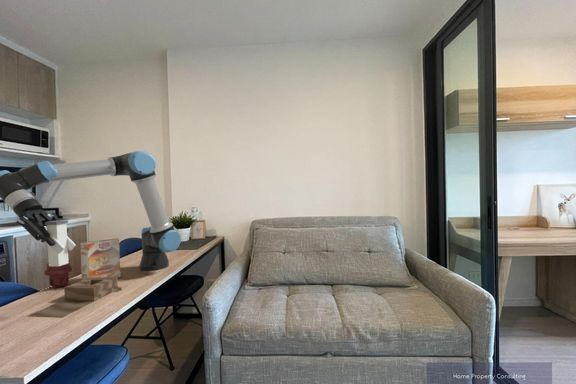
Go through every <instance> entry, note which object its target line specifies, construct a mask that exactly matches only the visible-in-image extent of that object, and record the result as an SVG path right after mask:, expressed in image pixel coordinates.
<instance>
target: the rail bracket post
mask: <svg viewBox="0 0 576 384" xmlns="http://www.w3.org/2000/svg"><path fill="white" fill-rule="evenodd" d="M68 223H69V220H64V219H63V220H61V219H59V220H56V221H50V222H45V225H47V227H46V230H47V231H48V233H49V235H50V236H51V235H53V236H54V237H55V238H56V239H57V240H58V241H59V242H60V243H61V244H62V245H63V246H64V247H65V249H64V250H63V251H62V252H61V253H60V254H58V253H57V252H56V250H55V249H54V248H53V247H52V246H49V245H48V244H47V255H48V263H49V266H62V265H65V264H68V263H69V262H68V260H69V249H68V243H67V235H68V232H67V228H68V225H67V224H68Z"/></svg>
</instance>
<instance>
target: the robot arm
mask: <svg viewBox="0 0 576 384" xmlns="http://www.w3.org/2000/svg"><path fill="white" fill-rule="evenodd" d="M156 167H157V163H156V159H155V157H154V156H153V155H152V154H151V153H149V152H147V151H145V150H136V151H133V152H128V153H125V154H124V153H123V154H120V155H115V156H109V157H107V159H99V160H97V159H96V160H88V161H78V162H67V163H55V164H52V163H51V162H50V161H48V160H43V161H41V162H37V163H35V164H32V165H29V166H24V167H22V168H20V169H19V170H17V171H14V172H10V171H9V170H5V169H4V170H0V199H1V200H2V201H3V202H4V203H5V204H6V205H7V206H8V207H9V208H10V209H11V210H12V211H13V212H14V213H15V215H17V217H18V220H17V221H16V224H18V226H19V225H20V226H21V227H22V228H23V229H24V230H26V232H28V234H29V235H31V237H33V238H34V239H35V240H36V241H38V242H39V241H40V242H41V243H46V244H47V246H48V245H49V246H52V247H53V248H54V249H55V250H56V252H57V253H58V254H60V253H61V252H62V251H63V250H64V249H65V247H64V246H63V245H62V244H61V243H60V242H59V241H58V240H57V239H56V238H55V237H54V236H53V235H51V236H50V235H49V233H48V231H47V225H45V222H50V221H56V220H60V219H59V217H58V215H57V214H56V213H55V212H52V213H48V212H47V211H45V210H44V209H43V205H42V204H41V203H40V202H39V201H38V200H37V199H36V198H35V196H34V195H33V194H32V193H31V192H30V191H29V190H30V189H32V188H35V187H37V186H39V185H41V184H46V183H53V182H55V183H56V182H62V181H63V182H64V181H69V180H76V179H77V180H78V179H79V180H80V179H86V178H93V177H101V176H108V175H109V176H111V177H116V176H117V177H118V176H119V177H121V176H126V177H127V176H129V179H130V181H131V182H132V183H133V184H135V186H136V188H137V191H138V192H139V193H138V194H139V196H140V199H141V201H142V204H143V208H144V210H145V212H146V215H147V219H148V220H149V224H150V226H147V227H143V228H142V229H141V247H142V248H141V249H142V255H141V257H140V262H139V265H138V267H139V271H148V272H149V271H156V270H162V269H165V268H168V267H169V265H170V261H169V259H168V258H169V257H168V256H167V253H171V252H172V253H173V252H174V251H176V250H177V249H178V248H179V247H180V244H181V242H182V236H181V234H180V232H178V230H175V226H174V224H173V223H172V222H170V221H169V219H168V217H167V213H166V210H165V207H164V204H163V201H162V198H161V196H160V193H159V190H158V187H157V184H156V181H155V178H156V175H157V174H156V172H155V170H156ZM69 231H70V230H69V228H68V227H67V233H68V232H69ZM67 243H68V251H72V250H73V249H74V248H75V247H76V246H77V245H76V243H75V242H74V241H73V240H72V238H71V237H70V236H69V235H68V234H67Z"/></svg>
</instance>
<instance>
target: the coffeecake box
mask: <svg viewBox="0 0 576 384" xmlns="http://www.w3.org/2000/svg"><path fill="white" fill-rule="evenodd" d="M120 250H121V249H120V239H119V238H118V237H108V238H104V239H97V240H90V241H85V242H80V263H81V264H80V267H81V269H80V270H81V281H82V280H84V279H87V278H89V277H118V278H119V277H120V278H121V259H120V258H121V257H120V256H121V255H120Z"/></svg>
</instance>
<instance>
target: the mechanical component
mask: <svg viewBox="0 0 576 384" xmlns="http://www.w3.org/2000/svg"><path fill="white" fill-rule="evenodd" d="M68 262H69V263H68V264H65V265H62V266H49V262H48V263H46V269H45V270H44V276H48V279H49V284H48V285H49V286H51V289H53V290H54V288H55V289H57V288H58V289H59V288H62V286H63V287H66V286H69V282H70V279H69V273H70V272H72V271H73V267H72V265H70V264H71V263H70V259H68Z"/></svg>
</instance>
